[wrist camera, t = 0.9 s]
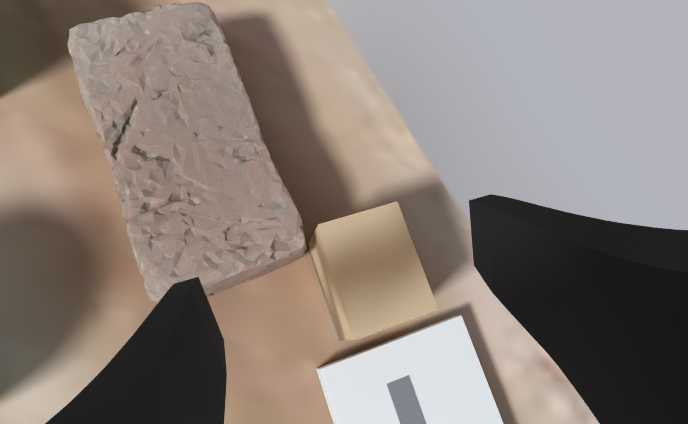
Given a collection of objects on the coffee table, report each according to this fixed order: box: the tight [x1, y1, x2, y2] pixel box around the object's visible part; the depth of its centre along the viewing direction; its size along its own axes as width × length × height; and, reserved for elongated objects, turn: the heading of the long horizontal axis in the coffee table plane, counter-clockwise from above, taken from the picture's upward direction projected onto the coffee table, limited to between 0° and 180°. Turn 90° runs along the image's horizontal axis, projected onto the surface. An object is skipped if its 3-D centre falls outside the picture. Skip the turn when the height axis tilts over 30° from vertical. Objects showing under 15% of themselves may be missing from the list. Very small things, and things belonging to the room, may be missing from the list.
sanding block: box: [307, 201, 438, 341], centre depth 26 cm, size 6×4×5 cm
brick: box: [67, 3, 307, 304], centre depth 26 cm, size 17×8×5 cm, turn 23°
